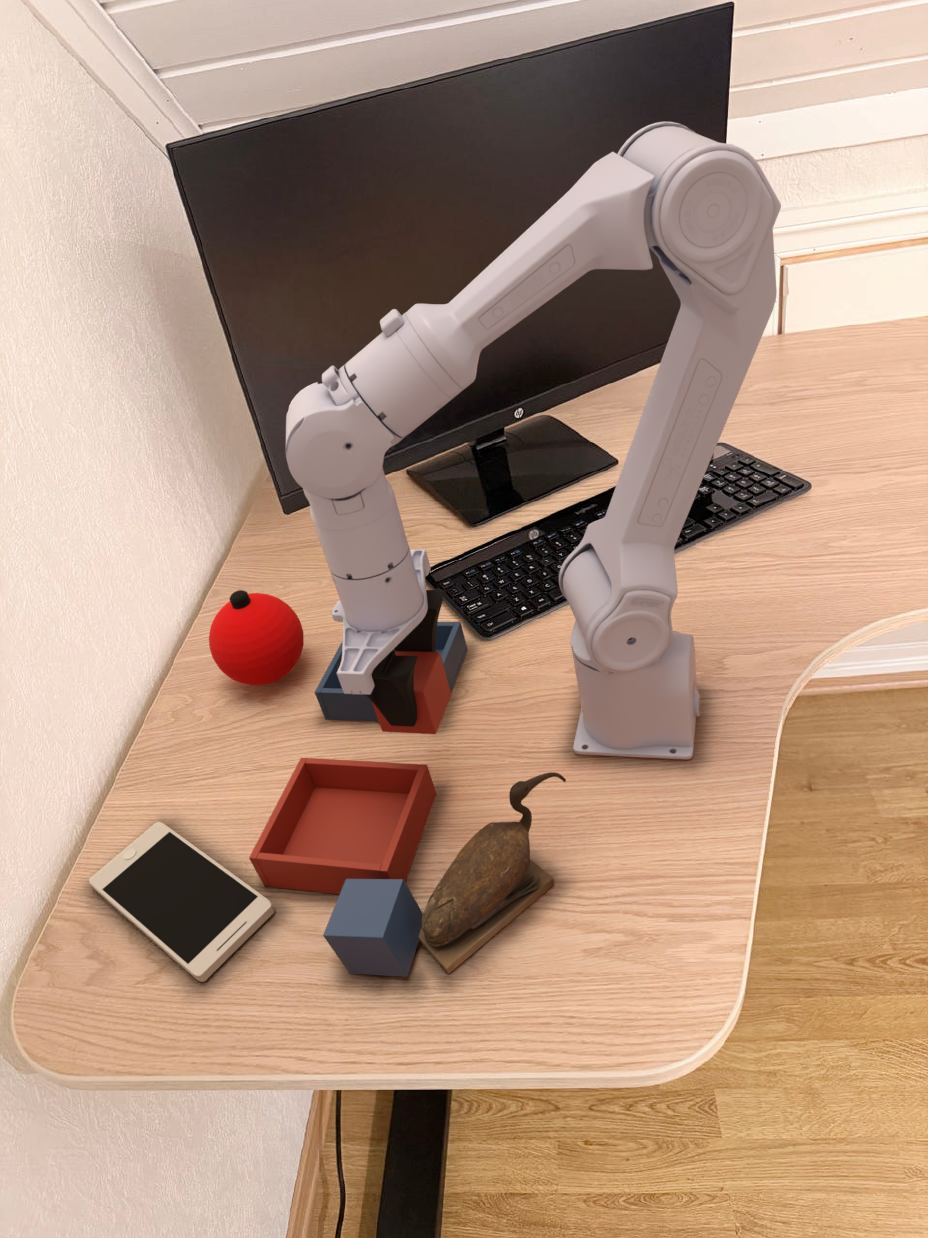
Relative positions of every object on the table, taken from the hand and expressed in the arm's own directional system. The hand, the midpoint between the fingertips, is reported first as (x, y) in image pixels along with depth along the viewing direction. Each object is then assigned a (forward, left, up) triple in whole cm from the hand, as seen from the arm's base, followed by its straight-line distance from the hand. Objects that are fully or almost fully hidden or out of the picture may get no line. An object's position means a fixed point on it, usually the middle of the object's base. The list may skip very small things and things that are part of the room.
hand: (413, 699), depth 71 cm
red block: (0, 0, -1) cm, 1 cm away
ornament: (+21, -12, -8) cm, 25 cm away
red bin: (+5, +7, -8) cm, 12 cm away
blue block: (-1, +16, -8) cm, 18 cm away
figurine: (-8, +11, -8) cm, 16 cm away
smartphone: (+17, +14, -8) cm, 24 cm away
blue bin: (+7, -11, -8) cm, 15 cm away
